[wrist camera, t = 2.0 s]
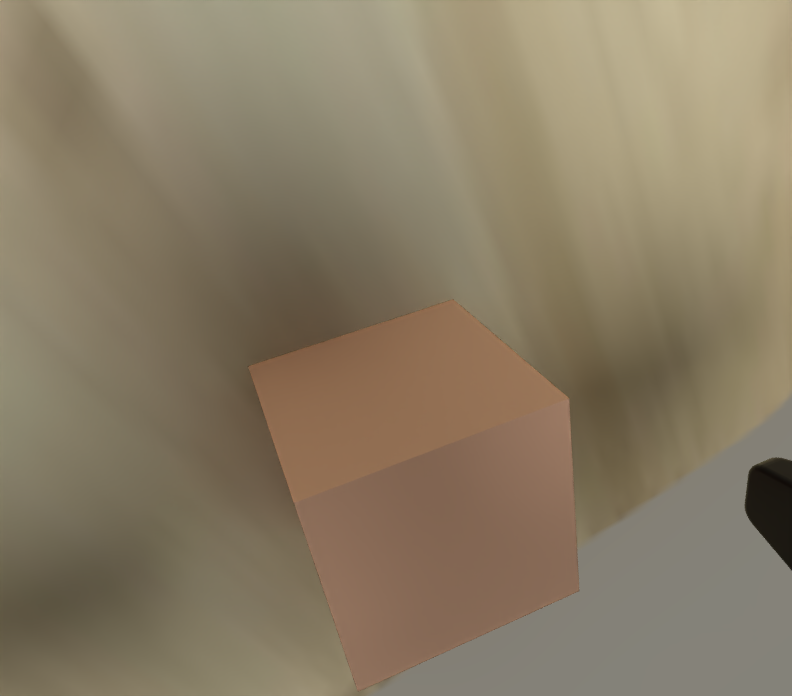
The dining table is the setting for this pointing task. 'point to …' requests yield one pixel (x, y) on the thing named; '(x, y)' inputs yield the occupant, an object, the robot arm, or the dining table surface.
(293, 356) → the terracotta block
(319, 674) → the dining table surface
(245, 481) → the dining table surface
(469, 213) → the dining table surface
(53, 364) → the dining table surface
